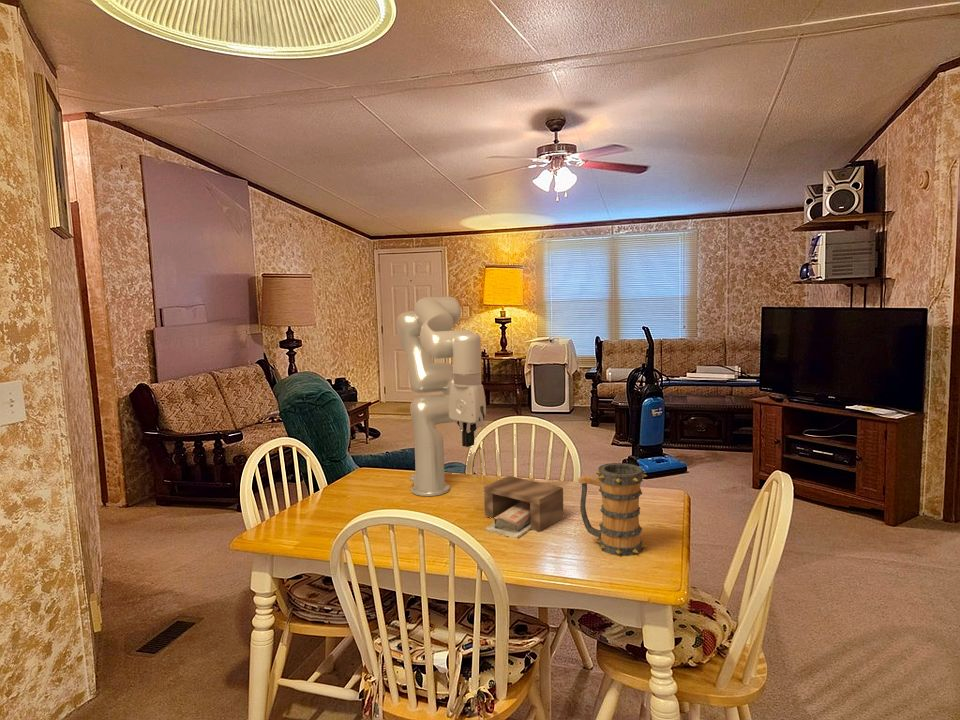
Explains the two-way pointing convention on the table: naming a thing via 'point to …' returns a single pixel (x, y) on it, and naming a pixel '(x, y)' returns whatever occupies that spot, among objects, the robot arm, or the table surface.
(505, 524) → the packaged product
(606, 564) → the table surface
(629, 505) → the mug
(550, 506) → the walnut shelf
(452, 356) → the robot arm
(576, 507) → the table surface
